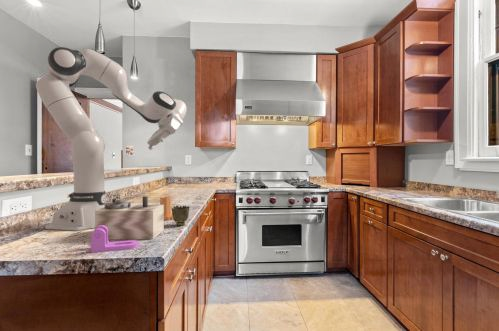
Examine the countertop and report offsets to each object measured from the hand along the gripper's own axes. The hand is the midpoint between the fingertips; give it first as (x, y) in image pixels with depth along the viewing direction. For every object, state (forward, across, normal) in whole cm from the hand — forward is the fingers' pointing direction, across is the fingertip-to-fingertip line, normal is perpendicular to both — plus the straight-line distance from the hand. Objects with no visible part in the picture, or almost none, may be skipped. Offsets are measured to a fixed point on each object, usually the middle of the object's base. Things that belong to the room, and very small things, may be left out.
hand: (155, 144), depth 121 cm
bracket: (+49, +9, +5) cm, 50 cm away
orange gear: (+19, -15, +26) cm, 36 cm away
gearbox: (+38, -1, +11) cm, 40 cm away
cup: (+26, 0, +27) cm, 37 cm away
